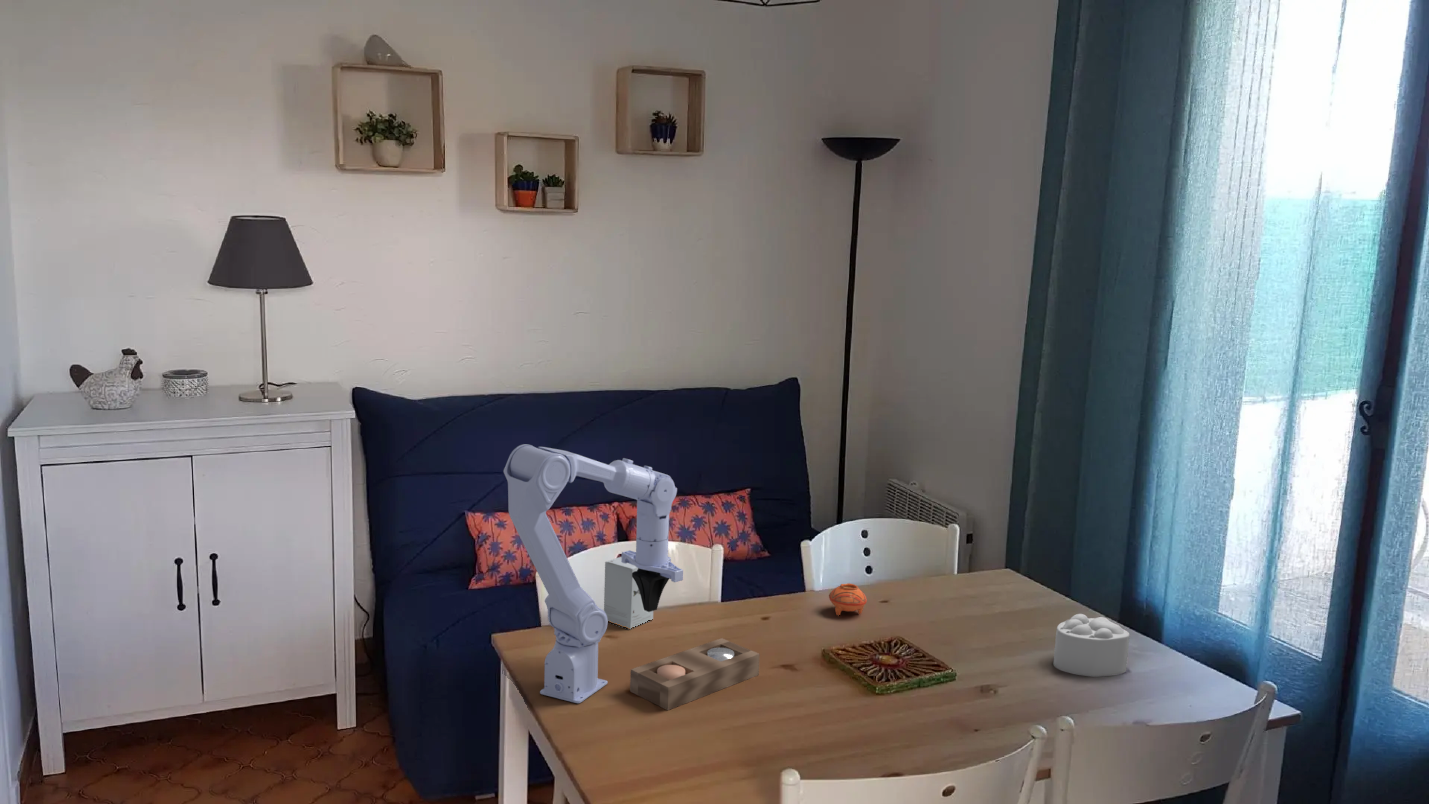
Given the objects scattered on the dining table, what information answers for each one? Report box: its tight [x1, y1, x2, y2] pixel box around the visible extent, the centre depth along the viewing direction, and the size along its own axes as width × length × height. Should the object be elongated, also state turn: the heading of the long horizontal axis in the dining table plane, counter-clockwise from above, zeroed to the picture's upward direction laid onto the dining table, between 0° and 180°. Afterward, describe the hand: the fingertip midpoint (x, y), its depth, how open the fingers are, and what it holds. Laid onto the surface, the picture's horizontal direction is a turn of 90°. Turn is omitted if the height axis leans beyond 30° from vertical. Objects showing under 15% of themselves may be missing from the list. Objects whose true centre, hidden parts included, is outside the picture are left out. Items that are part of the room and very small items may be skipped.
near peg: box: [657, 665, 685, 680], centre depth 188 cm, size 5×5×4 cm
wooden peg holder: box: [629, 637, 761, 711], centre depth 192 cm, size 22×10×4 cm, turn 135°
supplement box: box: [603, 556, 654, 630], centre depth 220 cm, size 7×7×13 cm
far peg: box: [707, 648, 734, 661], centre depth 196 cm, size 5×5×4 cm
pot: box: [828, 582, 868, 617], centre depth 229 cm, size 8×8×7 cm
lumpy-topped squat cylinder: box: [1052, 613, 1131, 678], centre depth 206 cm, size 10×13×9 cm
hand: (650, 609), depth 198 cm, fingers closed
